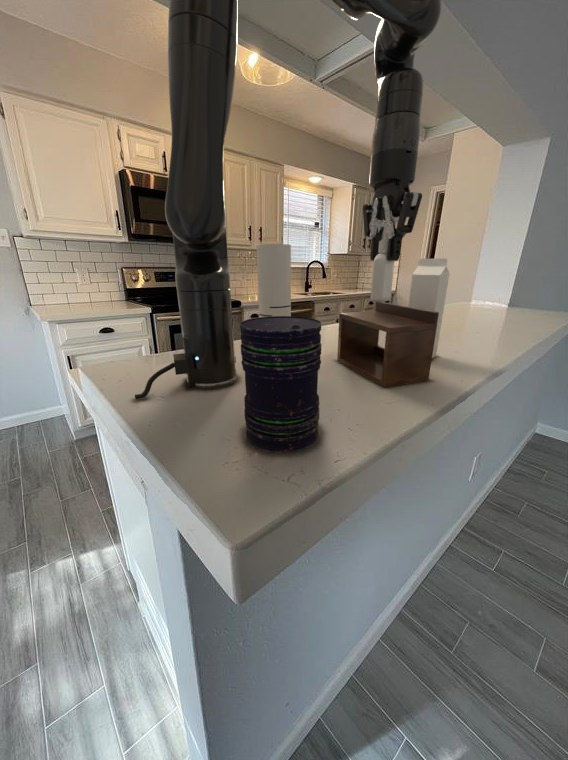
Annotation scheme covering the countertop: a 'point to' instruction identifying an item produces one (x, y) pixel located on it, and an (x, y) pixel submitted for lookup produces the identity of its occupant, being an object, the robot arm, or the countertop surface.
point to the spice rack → (388, 343)
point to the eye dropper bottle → (382, 273)
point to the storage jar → (281, 381)
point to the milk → (430, 289)
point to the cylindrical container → (274, 279)
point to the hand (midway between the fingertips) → (384, 260)
